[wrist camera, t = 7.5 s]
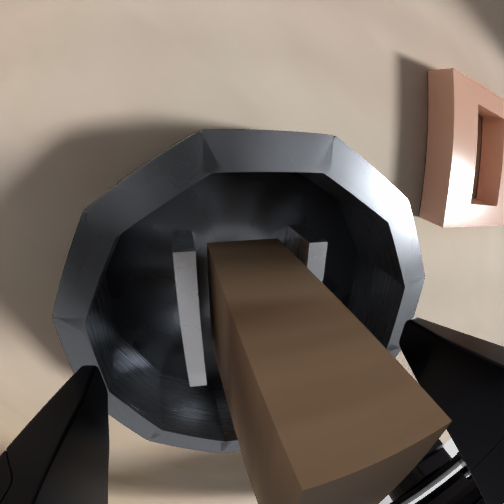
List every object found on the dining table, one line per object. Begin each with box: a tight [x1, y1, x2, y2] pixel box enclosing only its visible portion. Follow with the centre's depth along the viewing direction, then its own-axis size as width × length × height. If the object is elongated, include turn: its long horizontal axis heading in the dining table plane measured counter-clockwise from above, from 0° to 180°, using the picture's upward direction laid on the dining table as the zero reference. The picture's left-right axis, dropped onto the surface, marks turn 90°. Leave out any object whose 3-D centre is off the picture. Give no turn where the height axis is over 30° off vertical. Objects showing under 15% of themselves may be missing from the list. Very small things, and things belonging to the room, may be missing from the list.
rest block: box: [419, 68, 504, 227], centre depth 11 cm, size 7×7×2 cm
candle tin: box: [52, 129, 425, 453], centre depth 10 cm, size 11×11×4 cm
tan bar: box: [207, 238, 452, 504], centre depth 7 cm, size 4×2×8 cm, turn 178°
